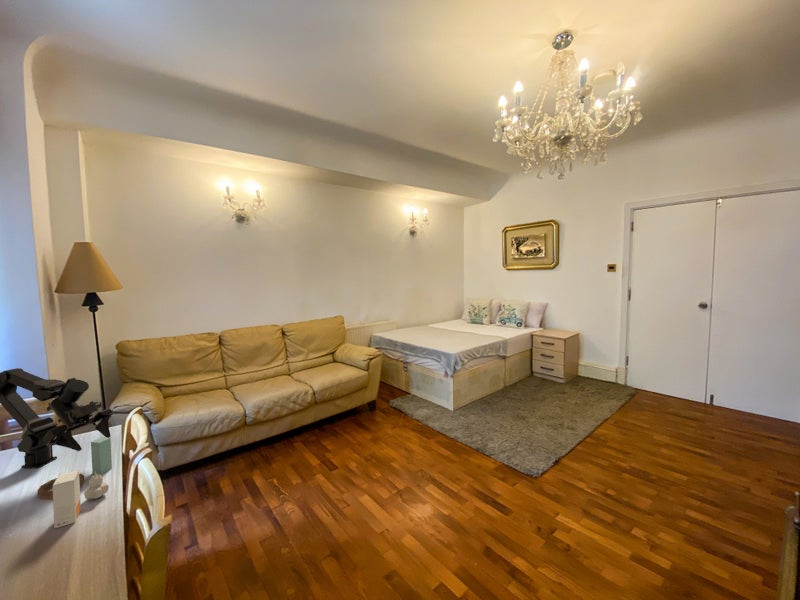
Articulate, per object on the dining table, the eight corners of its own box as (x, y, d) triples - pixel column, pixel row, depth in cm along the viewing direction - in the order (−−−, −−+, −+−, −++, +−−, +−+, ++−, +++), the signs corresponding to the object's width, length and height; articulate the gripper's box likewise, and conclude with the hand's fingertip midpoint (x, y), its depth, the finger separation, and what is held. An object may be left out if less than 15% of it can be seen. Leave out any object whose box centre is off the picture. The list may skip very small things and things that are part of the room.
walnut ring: (61, 479, 109) (60, 474, 109) (92, 479, 109) (92, 473, 109) (28, 499, 99) (28, 493, 99) (62, 498, 99) (62, 492, 99)
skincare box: (76, 522, 89) (73, 480, 89) (54, 529, 87) (51, 485, 86) (81, 509, 94) (79, 469, 94) (60, 515, 92) (58, 474, 91)
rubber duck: (107, 489, 104) (106, 464, 103) (110, 498, 99) (109, 472, 99) (83, 497, 100) (82, 472, 99) (85, 507, 95) (84, 480, 95)
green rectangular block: (92, 473, 113) (90, 442, 112) (103, 467, 116) (102, 437, 116) (101, 474, 112) (99, 442, 111) (111, 468, 115) (110, 437, 115)
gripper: (47, 405, 105) (77, 441, 103) (108, 387, 123) (134, 417, 122) (29, 427, 107) (58, 463, 105) (92, 406, 125) (118, 436, 124)
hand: (95, 443), depth 114 cm, fingers open, 9 cm apart
